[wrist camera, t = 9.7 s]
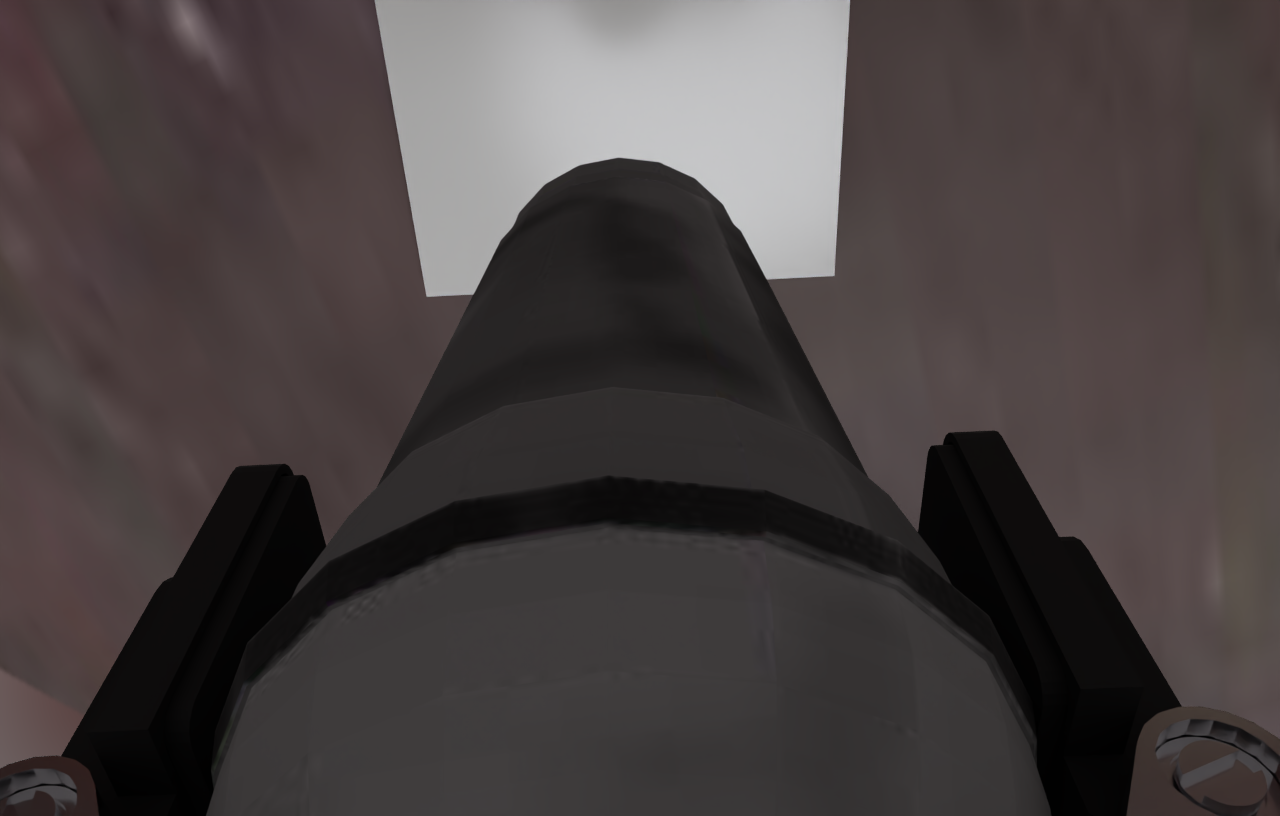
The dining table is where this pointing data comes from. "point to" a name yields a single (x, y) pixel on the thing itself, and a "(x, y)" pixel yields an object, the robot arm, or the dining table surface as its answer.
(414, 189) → the tile
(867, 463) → the dining table surface
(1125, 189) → the dining table surface
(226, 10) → the dining table surface
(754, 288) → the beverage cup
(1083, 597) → the robot arm
